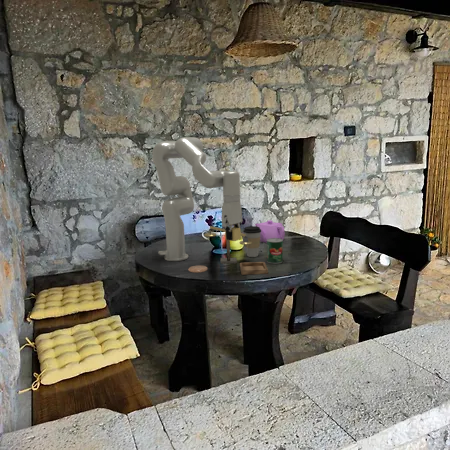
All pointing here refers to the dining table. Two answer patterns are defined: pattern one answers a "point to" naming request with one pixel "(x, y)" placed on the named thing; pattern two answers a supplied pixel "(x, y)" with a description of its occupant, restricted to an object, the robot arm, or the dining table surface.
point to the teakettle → (270, 230)
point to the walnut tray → (253, 268)
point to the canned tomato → (274, 250)
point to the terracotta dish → (197, 269)
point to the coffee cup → (252, 240)
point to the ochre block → (235, 234)
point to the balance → (228, 245)
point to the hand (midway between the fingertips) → (233, 238)
